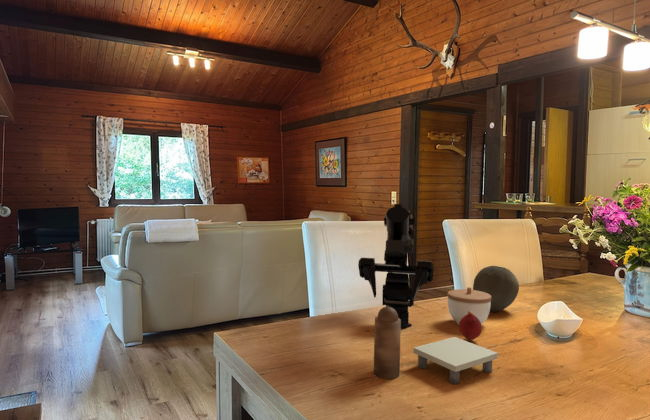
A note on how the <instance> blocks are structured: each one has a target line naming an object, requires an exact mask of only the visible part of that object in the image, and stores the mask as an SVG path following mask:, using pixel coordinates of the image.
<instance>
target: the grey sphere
mask: <svg viewBox="0 0 650 420" xmlns="http://www.w3.org/2000/svg"><path fill="white" fill-rule="evenodd" d="M472 290H476V291H481V292H485V293H488V294H490V295H491V306H490V312H500V311H503V310H505V309H508V308H509V307H510V306H511V305H512V303H514V301H515V300H516V298H517V296H518V294H519V291H520V284H519V280H518V278H517V276H516V275H515V274H514V273H513V271H512V270H510V269H508V268H506V267H504V266H498V265H489V266H485V267H483V268H482V269H480V270H479V271H478V273H476V275H475V277H474V280H473V284H472Z"/></svg>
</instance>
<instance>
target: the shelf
mask: <svg viewBox="0 0 650 420" xmlns="http://www.w3.org/2000/svg"><path fill="white" fill-rule="evenodd" d="M412 349H413V351H412V352H413V354H416V355H417V356H418V357H417V361H418V362H417V367H418V368H419V369H427V368H428V361H431V362H433V363H435V364H438V365H440V366H442V367H444V368H445V369H448V370H449V378H448V382H449V383H450V384H453V385H458V384H460V372H461V371H464V370H466V369H469V368H472V367H477V366H479V365H481V364H482V372H485V373H492V372H493V360H496V359H497V360H498V359H499V353H498V352H496V351H494V350H491V349H488V348H486V347H483V346H480V345H478V344H475V343H473V342H471V341H468V340H465V339H461V338H458V337H456V336H453V337H449V338H445V339H441V340H437V341H433V342H430V343H427V344H422V345H418V346H414V347H413V348H412Z"/></svg>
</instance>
